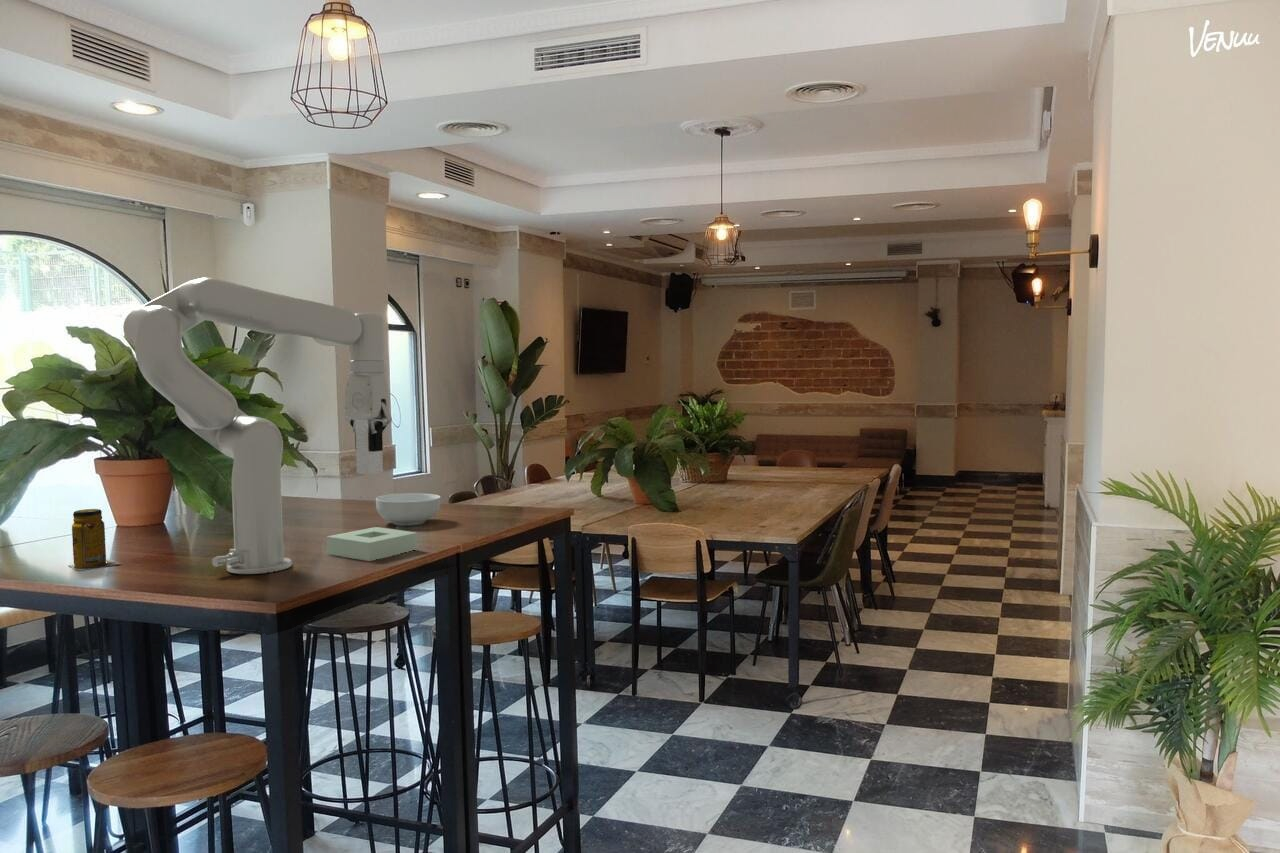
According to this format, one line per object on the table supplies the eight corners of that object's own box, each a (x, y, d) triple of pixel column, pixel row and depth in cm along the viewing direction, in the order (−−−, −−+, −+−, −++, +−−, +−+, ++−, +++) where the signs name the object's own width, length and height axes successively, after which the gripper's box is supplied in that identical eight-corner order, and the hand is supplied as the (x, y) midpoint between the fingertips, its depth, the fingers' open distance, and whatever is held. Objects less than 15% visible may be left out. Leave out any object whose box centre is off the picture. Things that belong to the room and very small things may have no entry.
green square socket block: (369, 561, 207) (368, 542, 206) (327, 554, 214) (326, 536, 214) (417, 550, 218) (417, 532, 218) (376, 543, 226) (375, 526, 226)
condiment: (68, 566, 205) (65, 510, 204) (112, 560, 210) (109, 505, 209) (77, 571, 199) (74, 514, 198) (121, 565, 205) (119, 509, 204)
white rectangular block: (369, 474, 213) (367, 411, 212) (356, 473, 215) (355, 411, 214) (382, 472, 216) (381, 410, 215) (370, 471, 218) (369, 410, 217)
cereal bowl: (425, 529, 244) (424, 502, 244) (364, 528, 248) (364, 500, 247) (451, 518, 261) (450, 492, 260) (394, 517, 264) (393, 491, 264)
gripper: (328, 368, 215) (330, 450, 216) (379, 369, 206) (381, 453, 207) (355, 368, 221) (357, 447, 223) (406, 368, 212) (408, 451, 213)
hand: (369, 449), depth 215 cm, fingers closed on white rectangular block, 4 cm apart
